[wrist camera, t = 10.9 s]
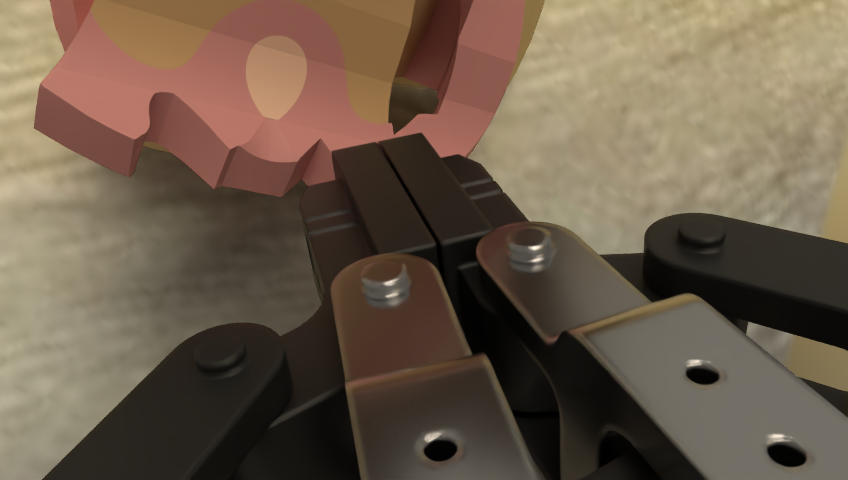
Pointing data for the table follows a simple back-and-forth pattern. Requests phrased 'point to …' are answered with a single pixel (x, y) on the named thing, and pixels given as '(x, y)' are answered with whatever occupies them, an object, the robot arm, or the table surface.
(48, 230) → the table surface
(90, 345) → the table surface
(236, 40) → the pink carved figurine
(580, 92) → the table surface
